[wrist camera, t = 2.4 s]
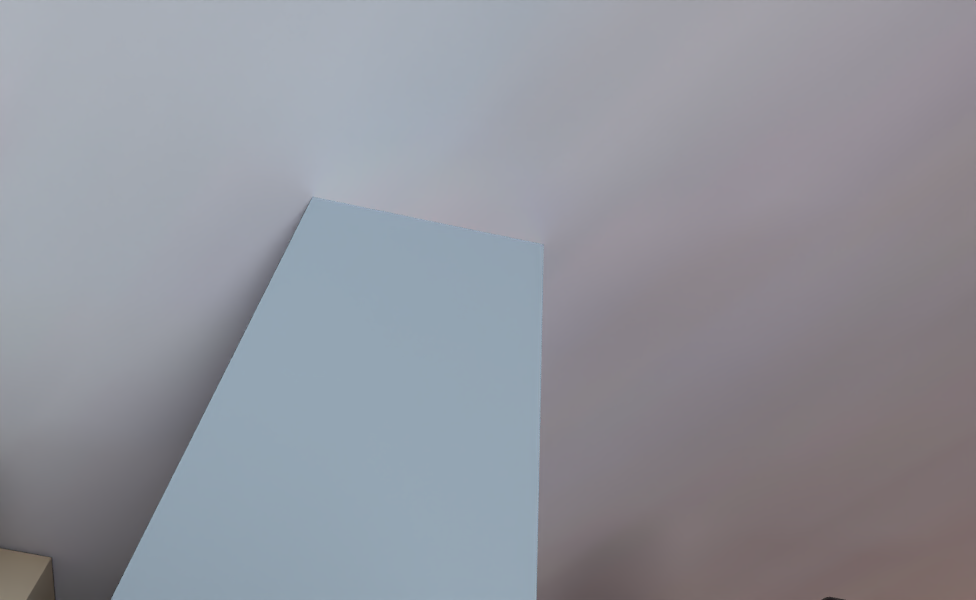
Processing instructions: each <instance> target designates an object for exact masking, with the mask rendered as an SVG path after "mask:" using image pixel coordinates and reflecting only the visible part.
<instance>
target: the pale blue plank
mask: <svg viewBox="0 0 976 600" xmlns="http://www.w3.org/2000/svg"><path fill="white" fill-rule="evenodd" d="M543 252H544V245H543V244H539V243H534V242H529V241H524V240H519V239H514V238H510V237H505V236H500V235H495V234H490V233H485V232H480V231H476V230H471V229H466V228H461V227H456V226H451V225H447V224H442V223H437V222H432V221H427V220H422V219H417V218H413V217H408V216H403V215H398V214H393V213H388V212H384V211H379V210H374V209H369V208H364V207H359V206H354V205H350V204H345V203H340V202H335V201H330V200H325V199H321V198H316V197H312V199H311V201H310V203H309V205H308V207H307V209H306V211H305V213H304V215H303V217H302V219H301V221H300V223H299V225H298V227H297V229H296V231H295V233H294V235H293V237H292V239H291V241H290V243H289V245H288V247H287V249H286V251H285V253H284V255H283V257H282V259H281V261H280V263H279V265H278V267H277V269H276V271H275V273H274V275H273V277H272V279H271V281H270V283H269V285H268V287H267V289H266V291H265V293H264V295H263V297H262V299H261V301H260V303H259V305H258V307H257V309H256V311H255V313H254V315H253V317H252V319H251V321H250V323H249V325H248V327H247V329H246V331H245V333H244V335H243V337H242V339H241V341H240V343H239V345H238V347H237V349H236V351H235V353H234V355H233V357H232V359H231V361H230V363H229V365H228V367H227V369H226V371H225V373H224V375H223V377H222V379H221V381H220V383H219V385H218V387H217V389H216V391H215V393H214V395H213V397H212V399H211V401H210V403H209V405H208V407H207V409H206V411H205V413H204V415H203V417H202V419H201V421H200V423H199V425H198V427H197V429H196V431H195V433H194V435H193V437H192V439H191V441H190V443H189V445H188V447H187V449H186V451H185V453H184V455H183V457H182V459H181V461H180V463H179V465H178V467H177V469H176V471H175V473H174V475H173V477H172V479H171V481H170V483H169V485H168V487H167V489H166V491H165V493H164V495H163V497H162V499H161V501H160V503H159V505H158V506H157V508H156V510H155V512H154V514H153V516H152V518H151V520H150V522H149V524H148V526H147V528H146V530H145V532H144V534H143V536H142V538H141V540H140V542H139V544H138V546H137V548H136V550H135V552H134V554H133V556H132V558H131V560H130V562H129V564H128V566H127V568H126V570H125V572H124V574H123V576H122V578H121V580H120V582H119V584H118V586H117V588H116V590H115V592H114V594H113V596H112V598H111V600H536V593H537V544H538V495H539V447H540V398H541V349H542V300H543Z"/></svg>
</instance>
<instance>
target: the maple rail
mask: <svg viewBox="0 0 976 600" xmlns="http://www.w3.org/2000/svg"><path fill="white" fill-rule="evenodd" d="M0 600H55V595H54V583H53V571H52V559H51V557H45V556H40V555H34V554H29V553H23V552H18V551H12V550H7V549H1V548H0Z"/></svg>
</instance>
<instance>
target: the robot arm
mask: <svg viewBox="0 0 976 600" xmlns="http://www.w3.org/2000/svg"><path fill="white" fill-rule="evenodd" d="M822 600H844V599H839V598H833V597H826V598H824V599H822Z"/></svg>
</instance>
